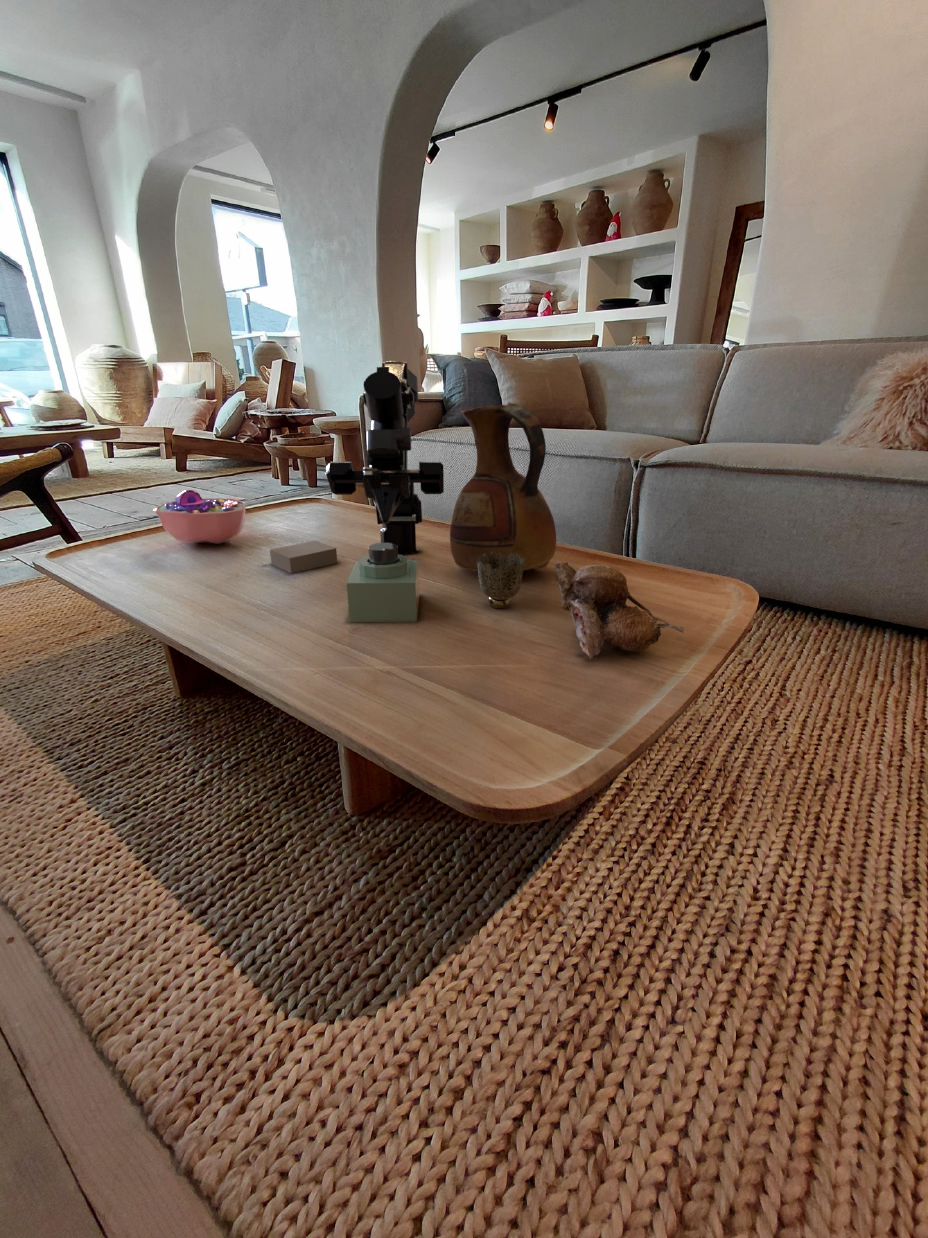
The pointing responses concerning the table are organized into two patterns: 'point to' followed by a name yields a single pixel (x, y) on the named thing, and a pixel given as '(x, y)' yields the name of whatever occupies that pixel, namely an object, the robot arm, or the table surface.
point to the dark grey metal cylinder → (383, 553)
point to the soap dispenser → (383, 591)
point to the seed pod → (606, 609)
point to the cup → (500, 577)
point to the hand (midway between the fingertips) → (385, 522)
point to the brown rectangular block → (303, 556)
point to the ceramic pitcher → (503, 494)
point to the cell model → (202, 518)
